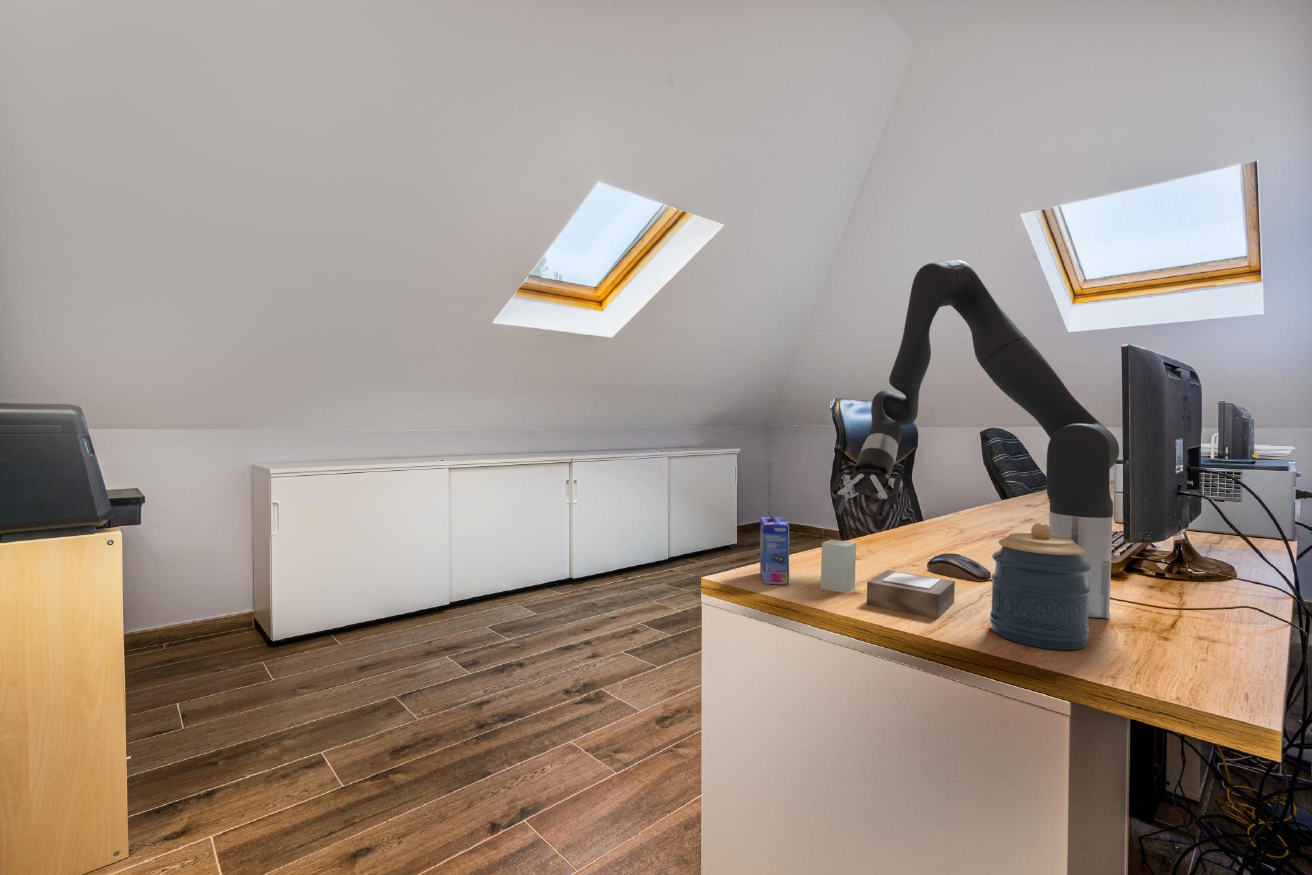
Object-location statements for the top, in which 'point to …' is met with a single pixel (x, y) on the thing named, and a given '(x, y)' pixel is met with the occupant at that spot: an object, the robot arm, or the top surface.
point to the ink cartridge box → (774, 550)
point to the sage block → (838, 566)
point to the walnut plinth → (911, 593)
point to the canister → (1041, 590)
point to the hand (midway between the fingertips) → (857, 514)
